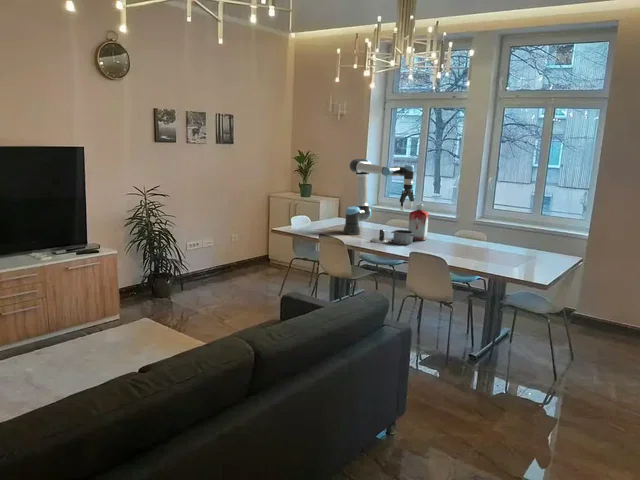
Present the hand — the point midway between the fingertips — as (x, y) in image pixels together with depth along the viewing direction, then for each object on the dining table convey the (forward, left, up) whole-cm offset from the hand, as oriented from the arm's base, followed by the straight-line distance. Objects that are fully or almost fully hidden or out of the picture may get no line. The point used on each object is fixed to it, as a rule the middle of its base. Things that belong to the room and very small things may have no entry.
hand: (406, 209), depth 424 cm
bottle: (+5, +14, -26) cm, 30 cm away
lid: (-11, -17, -26) cm, 33 cm away
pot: (+4, -8, -26) cm, 28 cm away
